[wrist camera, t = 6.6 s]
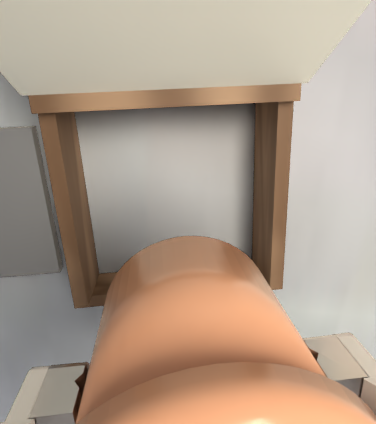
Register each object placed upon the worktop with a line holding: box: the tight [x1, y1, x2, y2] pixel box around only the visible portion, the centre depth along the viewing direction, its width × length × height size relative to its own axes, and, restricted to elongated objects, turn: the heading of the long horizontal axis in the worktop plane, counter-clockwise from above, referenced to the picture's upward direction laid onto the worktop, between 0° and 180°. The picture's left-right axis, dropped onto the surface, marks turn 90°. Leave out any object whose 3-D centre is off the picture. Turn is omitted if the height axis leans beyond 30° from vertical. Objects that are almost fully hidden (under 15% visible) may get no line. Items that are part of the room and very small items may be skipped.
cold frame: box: [28, 83, 301, 308], centre depth 24 cm, size 16×16×6 cm
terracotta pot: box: [76, 236, 376, 424], centre depth 8 cm, size 7×7×7 cm
